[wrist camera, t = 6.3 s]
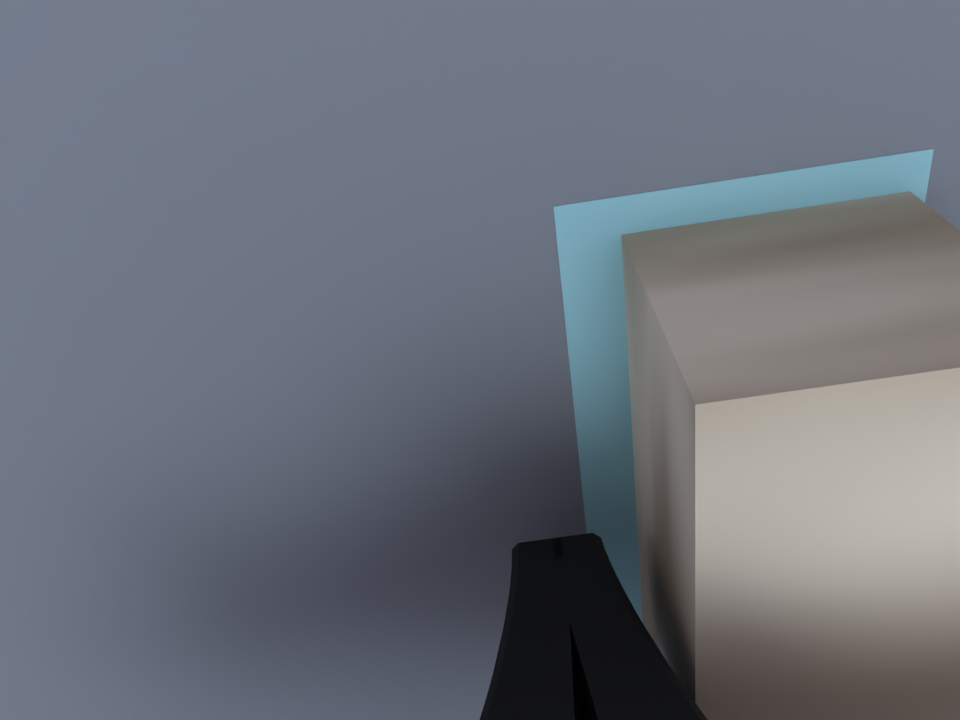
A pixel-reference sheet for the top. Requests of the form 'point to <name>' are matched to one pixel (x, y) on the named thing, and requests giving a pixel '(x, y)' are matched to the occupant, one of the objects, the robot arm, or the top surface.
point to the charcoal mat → (370, 312)
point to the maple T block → (801, 458)
